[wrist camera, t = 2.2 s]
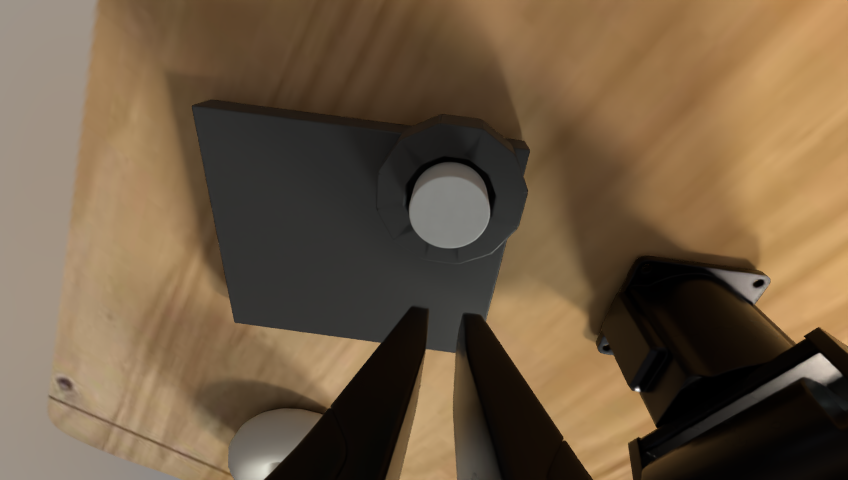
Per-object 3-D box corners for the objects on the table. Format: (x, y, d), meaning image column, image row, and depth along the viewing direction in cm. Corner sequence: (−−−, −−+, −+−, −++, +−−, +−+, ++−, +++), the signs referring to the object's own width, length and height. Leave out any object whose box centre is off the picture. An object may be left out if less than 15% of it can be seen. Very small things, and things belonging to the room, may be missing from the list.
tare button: (494, 166, 14) (498, 181, 13) (479, 234, 16) (481, 253, 15) (416, 156, 14) (412, 170, 13) (409, 224, 16) (405, 243, 15)
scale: (530, 118, 16) (545, 136, 13) (475, 338, 22) (478, 379, 20) (206, 75, 16) (157, 86, 13) (245, 307, 23) (218, 343, 20)
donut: (286, 376, 26) (218, 436, 30) (264, 422, 23) (192, 482, 27) (395, 443, 29) (320, 489, 33) (389, 491, 26) (307, 535, 30)
